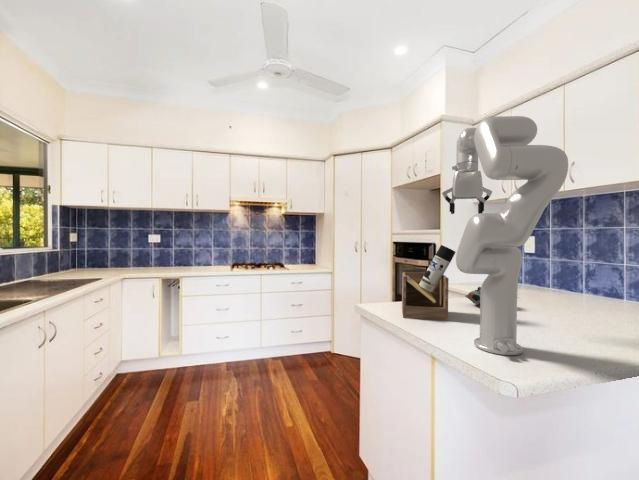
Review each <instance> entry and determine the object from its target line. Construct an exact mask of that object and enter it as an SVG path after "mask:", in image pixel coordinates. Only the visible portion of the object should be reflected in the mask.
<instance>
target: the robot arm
mask: <svg viewBox="0 0 639 480" xmlns="http://www.w3.org/2000/svg"><path fill="white" fill-rule="evenodd" d="M537 134H538V125H537V123H536V122H535V121H534V120H533V119H532V118H530V117H527V116H524V115H511V116H510V115H507V116H506V115H505V116H501V115H499V116H488V117H485V118H484V119H482V120H481V121H480V122H479V123H478V124H477V126H476V127H468V128H464V129H463V130H462V131H461V133H460V134H459V137H458V138H457V140H456V156H455V157H456V160H455V161H456V164H455V165H452V167H451V171H454V173H453V178H452V186H451V188H449V189H447V190H445V191H443V192H442V193H441V194H442V196H443V198H444V200H445V201H446V202H447V203H448V204H449V212H450V214H451V215H454V214H455V211H456V210H455V209H456V206H455V202H456V201H455V200H469V199H470V200H471V199H472V200H473V199H476V200H477V201H478V202H479V203H478V204H477V206H478V207H477V214H476V213H475V214H474V215H472V216H471V217H470V218H469V220H468V221H467V223H466V225H465V227H464V230H463V233H462V237H461V239H460V241H459V244H458V248H457V250H456V253H455V264H456V267H457V269H458V270H459V271H460V272H462V273H464V274H467V275H469V274H471V275H487V277H486V278H485V279H484V281H483V282H482V284H481V286H480V287H481V292H480V306H479V337H477V338H474V340H473V344H474V346H475V347H476V348H478V349H480V350H482V351H484V352H486V353H487V352H488V353H491V354H496V355H500V356H518V355H519V356H520V355H521V354H522V353H523V352H524V348H523V346H521V344H518V343H517V332H518V331H517V330H518V328H517V327H518V325H517V324H518V288H519V278H520V273H521V268H522V263H523V254H522V251H521V250H520V248H519V247H521V246H524V245H525V244H526V243H527V241H528V240H529V239H530V237H531V235H532V234H533V232H534V229H535V228H536V226H537V225H538V222H539V220H540V219H541V217H542V215H543V213H544V211H545V209H546V208H547V206H549V204H550V203H551V201H552V200H553V199H554V197H555V196H556V195H558V192H559V191H560V190H561V188H562V187H563V185H564V183H565V181H566V178H567V175H568V172H569V158H568V155H567V154H566V152H565V151H564V150H563V149H562V148H559V147H557V146H552V145H548V144H547V145H546V144H545V145H544V144H531V143H532V142H533V141H534V139H535V138H536V136H537ZM479 162H480V165H481V169H482V171H483V173H484V174H485V176H486V177H487V178H488V179H491V180H493V181H494V180H496V181H524V180H525V181H526V182H525V183H524V184H523V185H521V186H519V187H518V188H516V189H515V190H514V191H513V192H512V193H511V194H510V195H509V196H508V197H507V199H506V202H505V204H504V207H503V208H502V210H501V211H499V212H485V213H484V211H485V203H486V201H488V200H489V199H490V197H491V195H492V194H493V191H492V190H491V189H489V188H486V187H484V186H483V176H482V171H481V170H479ZM449 193H451V198H450V197H449V195H448V194H449ZM484 193H485V196H484V197H483V195H484Z"/></svg>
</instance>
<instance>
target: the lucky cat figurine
mask: <svg viewBox="0 0 639 480" xmlns="http://www.w3.org/2000/svg"><path fill="white" fill-rule="evenodd" d="M480 292H481V286H478V287H477V289H475V290H471V291H470V292H469V293H468V294H465V296H464V297H466V298H467V299H468V300H469V301H471V302H472V303H473V304H474V305H476V306H478V307H480Z"/></svg>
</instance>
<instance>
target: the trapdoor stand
mask: <svg viewBox="0 0 639 480" xmlns="http://www.w3.org/2000/svg"><path fill="white" fill-rule="evenodd" d="M425 273H426V272H415V271H413V272H412V271H411V272H410V271H402V276H401V278H402V279H401V280H402V283H401V312H402V318H403V319H413V320H414V319H415V320H416V319H417V320H428V321H429V320H430V321H440V322H441V321H442V322H443V321H444V322H445V321H446V322H448V321H449V277H447V276H446V275H445V274H443V276H442V278H441V280H440V281H439V283H438V285H437V287H436V288H435V290H434V292H433V293H430V292H429V293H430V294H431V295H432V296H433V298H434V299H435V300H436V302H435V303H434V302H432V301H431V300H430V299H429V298H427V297H426V296H425V295H424V294H422V293H421V292H420V291H419V290H417V289H416V288H415V287H414V286H412V285H411V284H410V283H409V282H408V281H407V280H406V275H408V276H410V278H411V279H412V280H414V281H415V282H416V283H417V284H419V283H420V282H421V280H422V278H423V276H424V274H425ZM427 292H428V291H427Z"/></svg>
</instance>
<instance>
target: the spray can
mask: <svg viewBox="0 0 639 480" xmlns="http://www.w3.org/2000/svg"><path fill="white" fill-rule="evenodd" d="M456 254H457V251H455V250H454V249H451V248H450V247H447V246H445V245H443V244H442V245H440V246H439V248H438V249H437V251H436V253H435V255H434V256H433V258H432V260H431V262H430V264H429V266H428V267H427V269H426V271H425V272H424V273H425V274H424V276H423V278H422V280H421V282H420V283H419V286H420V287H421V288H423V289H424V290H426V291H428V292H430V293H433V292H434V290H435V288H436V287H437V285H438V283H439V281H440V280H441V278H442V276H443V275H445V272H446V271H447V270H448V267H449V265H450V263H452V260H453V258H454V256H456Z"/></svg>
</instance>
